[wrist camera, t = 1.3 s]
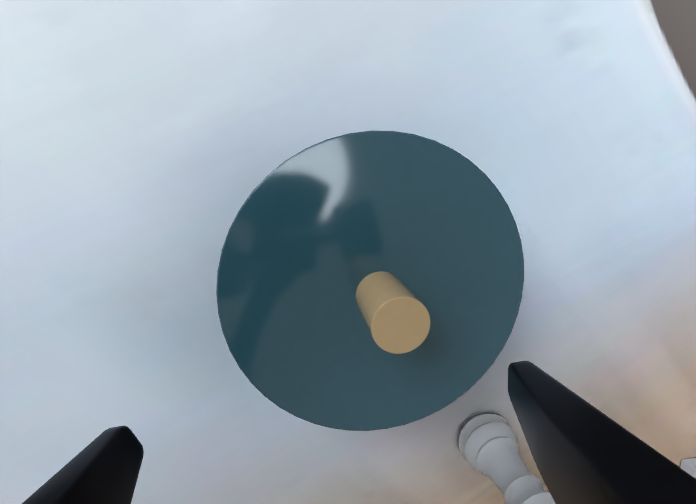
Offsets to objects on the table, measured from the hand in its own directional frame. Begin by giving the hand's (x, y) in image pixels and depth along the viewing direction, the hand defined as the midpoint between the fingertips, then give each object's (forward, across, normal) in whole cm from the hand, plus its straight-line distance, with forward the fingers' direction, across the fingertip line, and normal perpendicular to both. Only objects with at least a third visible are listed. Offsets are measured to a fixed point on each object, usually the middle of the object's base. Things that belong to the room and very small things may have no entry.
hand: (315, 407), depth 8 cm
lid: (+11, -2, +4) cm, 12 cm away
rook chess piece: (+13, -8, +21) cm, 26 cm away
